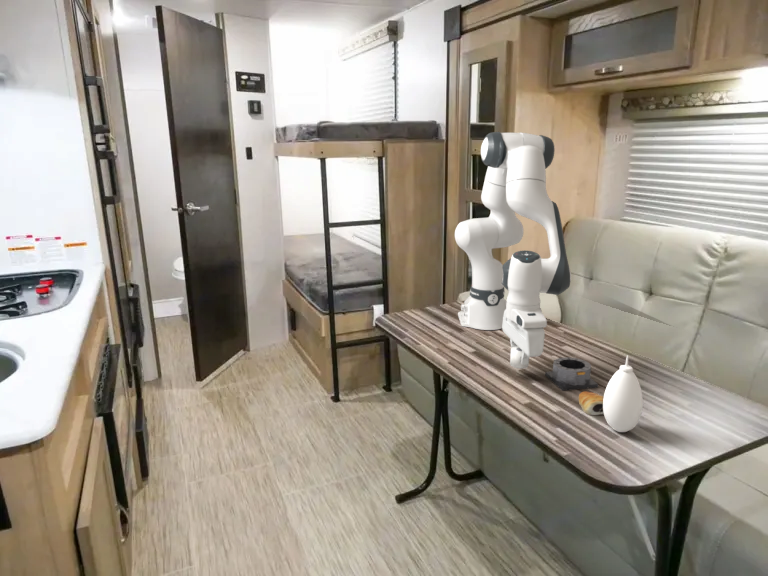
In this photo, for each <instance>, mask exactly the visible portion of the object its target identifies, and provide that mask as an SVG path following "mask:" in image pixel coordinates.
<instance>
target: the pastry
mask: <svg viewBox="0 0 768 576" xmlns="http://www.w3.org/2000/svg"><path fill="white" fill-rule="evenodd" d="M603 398H604V395H600V394H598V393H596V392H592V391H586V390H585V391H582V392H580V393H579V394H578V403H579V406H580V408H581V410H582V411H583V412H584V414H586V415H587V416H588V415H589V416H600V415H604V412H603Z"/></svg>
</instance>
